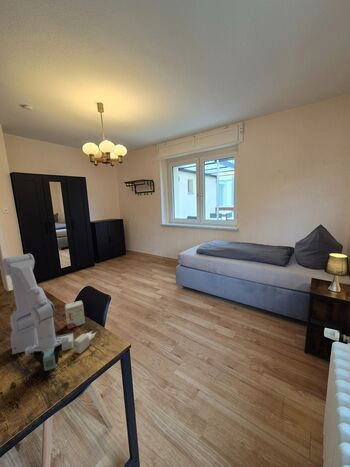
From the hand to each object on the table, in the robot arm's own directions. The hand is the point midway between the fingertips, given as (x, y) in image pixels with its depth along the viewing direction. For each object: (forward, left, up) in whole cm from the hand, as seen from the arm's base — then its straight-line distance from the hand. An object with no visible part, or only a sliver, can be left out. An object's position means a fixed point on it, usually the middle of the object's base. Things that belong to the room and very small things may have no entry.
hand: (50, 363), depth 79 cm
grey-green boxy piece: (0, +3, -1) cm, 3 cm away
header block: (0, +11, -1) cm, 12 cm away
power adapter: (+13, +8, -2) cm, 15 cm away
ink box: (+7, +28, -2) cm, 29 cm away
